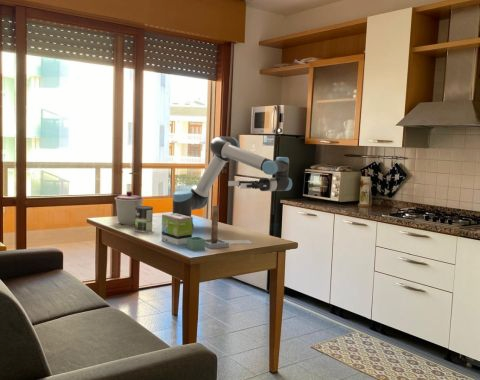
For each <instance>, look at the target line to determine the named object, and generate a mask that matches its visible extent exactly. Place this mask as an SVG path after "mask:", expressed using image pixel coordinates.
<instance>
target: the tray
mask: <svg viewBox="0 0 480 380" xmlns="http://www.w3.org/2000/svg"><path fill="white" fill-rule="evenodd" d="M204 239H205V248H207V249H220V248H229V243H230V242H228V241H226V240H223V239H221V238H219V237H217V243H214V244H211V238H204Z"/></svg>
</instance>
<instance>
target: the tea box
mask: <svg viewBox="0 0 480 380" xmlns="http://www.w3.org/2000/svg"><path fill="white" fill-rule="evenodd" d="M193 219H194V218H193V217H192V216H191V217H189V216H185V215H181V214H177V213H174V214H173V213H166V214H162V215H161V241H162V242H167V243H169V244H173V245H175V246H180V245H185V244H186V245H187V238H189V237H193V229H192V224H194V220H193Z"/></svg>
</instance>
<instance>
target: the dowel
mask: <svg viewBox="0 0 480 380" xmlns="http://www.w3.org/2000/svg"><path fill="white" fill-rule="evenodd" d="M218 226H219V205H217V204H216V205H215V204H213V205H212V206H211V232H210V235H211V236H210V239H211V244H214V243H217V238H218V232H219V231H218V230H219V229H218Z"/></svg>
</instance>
